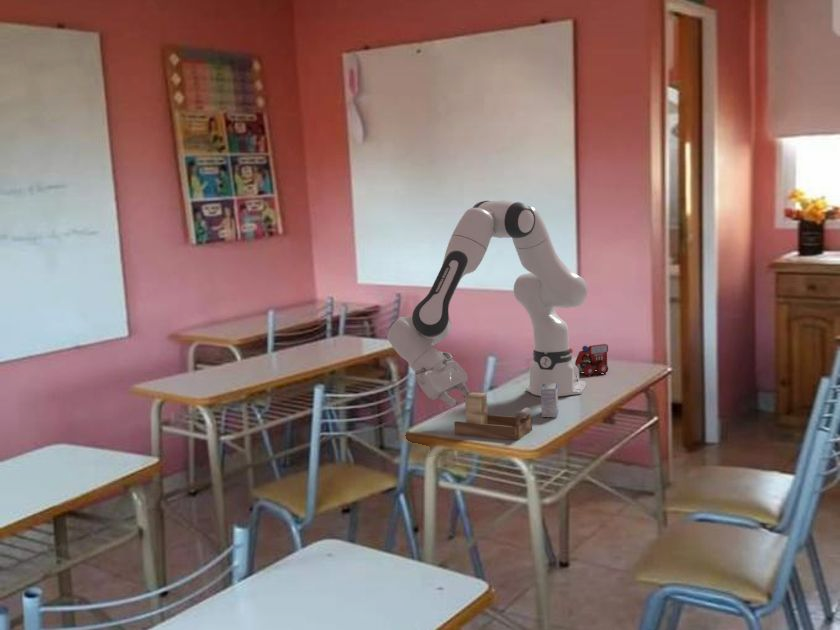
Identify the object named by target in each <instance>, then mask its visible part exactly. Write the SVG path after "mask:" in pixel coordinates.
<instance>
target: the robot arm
mask: <svg viewBox="0 0 840 630" xmlns="http://www.w3.org/2000/svg"><path fill="white" fill-rule="evenodd" d="M542 218H543V217H542V216H541V215H540V213H539V212H538V211H537V209H536V208H535V207H534V206H532V205H527V203H524V202H520V201H519V202H518V201H516V202H515V201H510V200H483V201H480V202H477V203H475V204H474V205H473V206H472V207H471V208H469V209H467V210H466V211H465V212H464V213H463V215H462V216H461V218H460V220H459V221H458V223H457V225H456V226H455V228H454V230H453V233H452V234H451V237H450V239H449V241H448V244H447V247H446V249H445V250H446V251H445V253H444V258H443V261H442V264H441V265H442V266H441V268H440V270H439V272H438V273H437V275H436V278H435V280H434V282H433V284H432V286H431V289H430V290H429V293H428V294H427V295H426V296H425V297H424V298H423V299H422V300H421V301H419V302H418V304H417V305H416V306H415V307H414V310H413V312H412V315H407V316H399V317H398V318H397V319H395V320H394V321H393V322H392V323H391V325H390V326H389V328H388V330H387V335H386V336H387V340H388V342H389V343H390V346H391V347H392V348H393V349H394V351H396V353H397V354H398V355H399V356H400V358H401V359H404V360H405V361H406V362H407V363H408V365H409V367H410V369H411V370H413V372H414V375H415V376H414V377H415V379H416V381H417V383H418V386H419V387H420V388H421V390H422V391H423V393H424V394H425V395H426V397H427V398H429V399H431V400H433V401H434V400H436V399H438V398H439V399H440V400H441V401H443V402H444V403H447V404H448V405H449V407H450V408H454V407H455V406H456V405H457V404H458V401H457V400H456V399H455V397H452V396H450V395H449V393H450V392H453V391H454V390H457V389H458V390H459V391H460V392H461V393H462V397H463V398H464V399H465V396H466V395H468V394H469V393H471V391H469V389H468V386H467V384H466V383H467V381H468V380H469V377H468V374H467V373H466V371H465V370H464V369H463V368H462V367H461V366H460V365H459V363H458V362H457V361H456V360H454V359H453V355H452V354H451V353H450V352H446V351H442V350H441V351H440V350H437V349H436V348H435V346H436V345H437V344H439V343H440V342H442V341H443V340H445V339H446V338H447V337H448V336H449V335H450V332H451V330H452V322H451V318H450V316H449V308H450V307H449V306H450V303H451V300H452V299H453V297H454V295H455V292H456V290H457V288H458V286H459V283H460V282H461V280H462V278H463V277H464V276H466V275H468V274H471V273H473V272H475V271H476V270H477V269H478V267H479V266H480V264H481V262H482V261H483V259H484V257H485V255H486V252H487V250H488V248H489V245H490V242H491V239H492V238H500V239H501V238H505V239H506V238H507V239H509V238H511V240H512V243H513V245H514V248H515V250H516V253H517V256H518V259H519V261H520V264H521V266H522V267H523V268H524V269H525V270H526V271H527V272H528V273H524V274H521V275H519V276H518V277H517V278H516V279H515V282H514V284H513V295H514V297H515V299H516V301H517V302H518V303H519V304H521V305H522V307H523V308H524V309H525V311H526V312H527V314H528V316H529V319H530V322H531V324H532V328H533V331H532V332H533V341H534V349H533V352H532V358H533V361H534V362H533V363H532V364H531V365H530V366H529V385H528V386H526V387H525V391H526V392H529V393H531V394H532V395H534V396H539V397H541V388H542V386H543V384H546V383H557V390H558V397H566V396H571V395H574V396H575V395H581V394H582V393H583V391H584V390H585V388H586V386H587V382H586V381H584V380H580V373H579V369H578V367H577V366H576V365H575V362H574V361H573V360H572V359H573V357H572V354H573V352H574V350H573V347H570V343H569V342H570V341H569V340H570V339H569V337H570V335H569V334H570V333H569V325H568V324H567V322H566V321H565V320H563V319H562V318H561V317H560V316H559V315H558V314H557V312H556V310H555V309H557V308H558V309H560V308H561V309H569V308H574V307H575V308H576V307H579V306H581V305H583V304H584V302H585V301H586V299H587V297H588V285H587V283H586V281H585V279H584V278H583V277H582V276H580V275H578V274H576V273H575V272H574V271H572V270H571V269H570V268H569V267H568V266H567V265H566V264H565V263H564V261H562V260H561V258H560V257H559V255H558V254H557V252H556V250H555V247H554V246H553V242H552V240H551V238H550V235H549V232H548V229H547V227H546V224H545V222H544V220H543V219H542Z"/></svg>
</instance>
